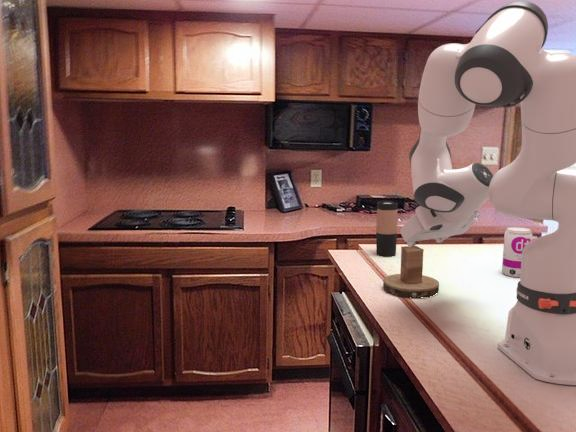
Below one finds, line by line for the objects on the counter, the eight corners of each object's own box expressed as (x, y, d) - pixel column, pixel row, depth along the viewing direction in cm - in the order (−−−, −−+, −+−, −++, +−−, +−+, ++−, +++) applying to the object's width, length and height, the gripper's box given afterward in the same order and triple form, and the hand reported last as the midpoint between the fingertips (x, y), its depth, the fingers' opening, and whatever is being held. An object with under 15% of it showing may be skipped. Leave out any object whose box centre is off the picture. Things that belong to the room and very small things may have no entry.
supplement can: (532, 278, 158) (536, 232, 155) (504, 277, 159) (507, 231, 157) (525, 271, 165) (529, 227, 163) (499, 270, 167) (502, 226, 165)
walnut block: (422, 282, 146) (423, 249, 144) (407, 284, 145) (408, 250, 143) (414, 278, 150) (415, 245, 149) (400, 279, 149) (401, 246, 148)
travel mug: (374, 256, 187) (375, 203, 184) (377, 251, 194) (378, 200, 191) (395, 257, 185) (397, 204, 181) (397, 253, 192) (398, 201, 189)
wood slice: (445, 288, 150) (445, 278, 150) (428, 303, 137) (429, 293, 137) (394, 280, 159) (395, 270, 158) (374, 293, 146) (374, 283, 145)
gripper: (475, 199, 133) (448, 228, 144) (411, 207, 125) (388, 237, 136) (487, 219, 130) (458, 247, 141) (422, 228, 122) (398, 257, 133)
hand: (423, 242), depth 138 cm, fingers open, 8 cm apart
